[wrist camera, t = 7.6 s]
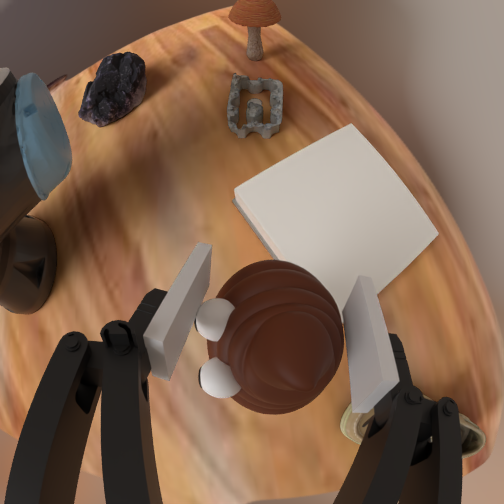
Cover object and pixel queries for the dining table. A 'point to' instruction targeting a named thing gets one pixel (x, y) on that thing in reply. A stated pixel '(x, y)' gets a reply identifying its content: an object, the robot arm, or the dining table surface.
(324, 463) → the dining table surface
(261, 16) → the mushroom
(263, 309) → the poop emoji
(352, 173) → the podium
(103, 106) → the crystal cluster
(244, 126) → the stone castle ruin
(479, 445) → the boat shoe
